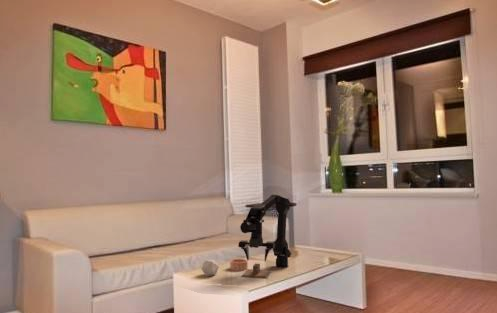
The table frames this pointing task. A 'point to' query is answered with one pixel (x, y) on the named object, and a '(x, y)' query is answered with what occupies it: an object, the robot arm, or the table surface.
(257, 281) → the table surface
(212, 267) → the die
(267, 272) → the lid
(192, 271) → the table surface
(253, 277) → the tray
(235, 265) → the bowl
